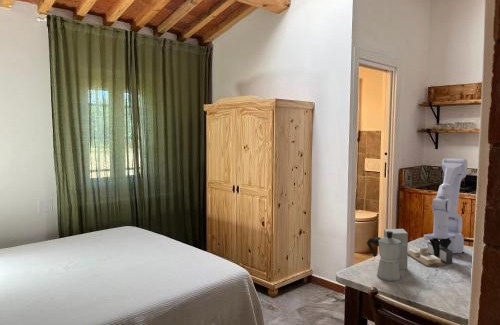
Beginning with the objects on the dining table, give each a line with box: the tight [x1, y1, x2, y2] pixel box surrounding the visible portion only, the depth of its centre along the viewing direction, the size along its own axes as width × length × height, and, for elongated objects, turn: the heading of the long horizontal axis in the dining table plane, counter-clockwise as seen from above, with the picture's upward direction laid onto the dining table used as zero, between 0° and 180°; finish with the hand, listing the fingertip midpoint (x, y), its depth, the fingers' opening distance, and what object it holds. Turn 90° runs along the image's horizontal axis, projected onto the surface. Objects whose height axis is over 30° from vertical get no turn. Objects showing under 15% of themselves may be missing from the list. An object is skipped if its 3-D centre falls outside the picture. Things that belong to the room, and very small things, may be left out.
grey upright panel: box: [427, 241, 454, 265], centre depth 166 cm, size 14×3×6 cm, turn 7°
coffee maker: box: [366, 231, 406, 282], centre depth 145 cm, size 15×9×18 cm, turn 57°
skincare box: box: [383, 228, 409, 270], centre depth 155 cm, size 8×7×16 cm
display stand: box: [408, 246, 445, 268], centre depth 165 cm, size 8×17×5 cm, turn 7°
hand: (439, 254), depth 166 cm, fingers closed on grey upright panel, 2 cm apart
